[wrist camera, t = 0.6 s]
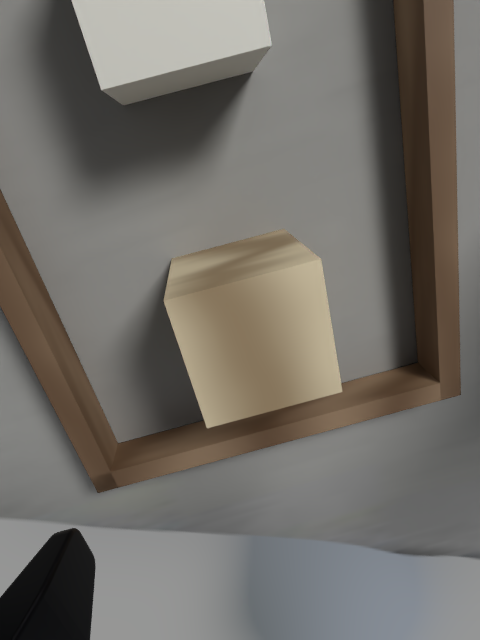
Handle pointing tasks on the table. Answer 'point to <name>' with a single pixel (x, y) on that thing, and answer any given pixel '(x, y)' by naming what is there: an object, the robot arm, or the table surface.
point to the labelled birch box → (253, 326)
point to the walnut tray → (357, 395)
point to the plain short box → (170, 43)
